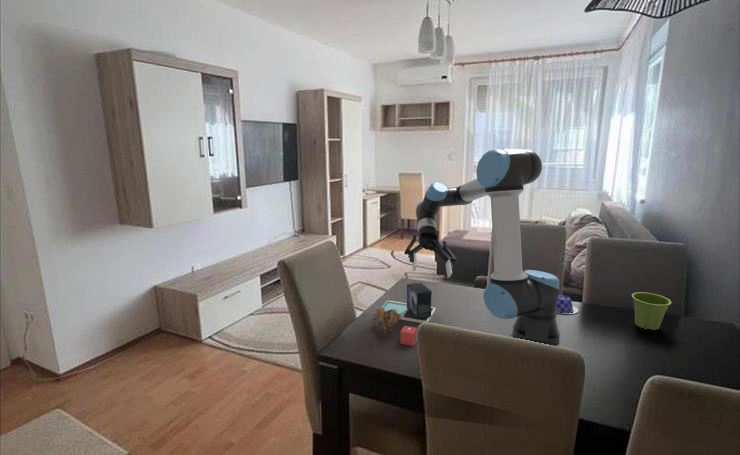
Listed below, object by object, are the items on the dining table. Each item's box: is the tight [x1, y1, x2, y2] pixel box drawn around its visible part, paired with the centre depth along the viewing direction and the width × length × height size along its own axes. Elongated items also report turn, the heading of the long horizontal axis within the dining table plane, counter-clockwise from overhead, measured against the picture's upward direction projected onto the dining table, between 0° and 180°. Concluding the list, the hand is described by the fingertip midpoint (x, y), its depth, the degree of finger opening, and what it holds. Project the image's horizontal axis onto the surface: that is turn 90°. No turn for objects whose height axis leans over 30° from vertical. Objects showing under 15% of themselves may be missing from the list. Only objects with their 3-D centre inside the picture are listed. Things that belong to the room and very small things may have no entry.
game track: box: [381, 300, 436, 324], centre depth 162 cm, size 21×14×1 cm
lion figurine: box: [372, 306, 401, 334], centre depth 148 cm, size 15×5×9 cm, turn 34°
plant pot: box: [631, 291, 672, 330], centre depth 148 cm, size 12×12×11 cm
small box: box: [406, 281, 433, 320], centre depth 159 cm, size 11×6×10 cm, turn 17°
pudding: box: [557, 294, 579, 315], centre depth 165 cm, size 12×12×5 cm
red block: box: [400, 325, 418, 347], centre depth 138 cm, size 4×4×5 cm
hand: (432, 272), depth 148 cm, fingers open, 13 cm apart
